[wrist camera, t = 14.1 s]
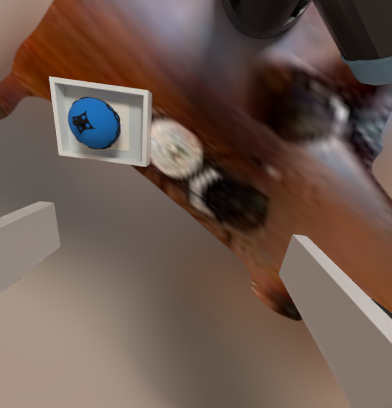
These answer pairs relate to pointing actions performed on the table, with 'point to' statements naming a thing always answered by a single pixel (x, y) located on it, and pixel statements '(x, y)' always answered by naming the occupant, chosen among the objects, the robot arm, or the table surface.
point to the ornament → (94, 123)
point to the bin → (121, 103)
